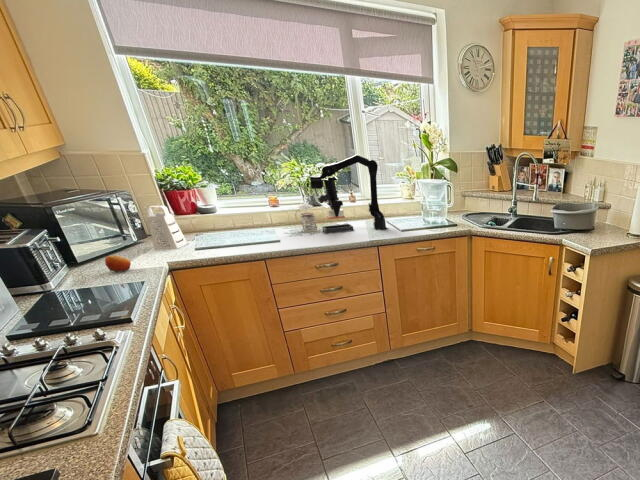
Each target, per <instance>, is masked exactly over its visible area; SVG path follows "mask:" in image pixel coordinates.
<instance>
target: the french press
mask: <svg viewBox="0 0 640 480" xmlns="http://www.w3.org/2000/svg"><path fill="white" fill-rule="evenodd" d="M299 189H300V190H301V192H302V194H304V191H303V190H304V186H299ZM302 197H303V198H305V195H302ZM303 200H304V203H303V204H300V205H299V206H298V207H297V208H298V209H297V210H296V211H295V212H294V218H295V219H296V220H298V217H297V214H298V212H299V213H300V215H301V216H300V219H301V221H300V220H298V222H299V223H300V224H301V225H302V230H301V232H304V233H314V232H318V231H320V228H318V225H317V220H316V216H315V214H314V212H308V211H307V210H308V209H313V208H314V205H312V204H309V203H306V201H305V199H303ZM300 209H301V210H305V212H301V210H300Z"/></svg>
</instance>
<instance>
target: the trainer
mask: <svg viewBox="0 0 640 480" xmlns="http://www.w3.org/2000/svg"><path fill="white" fill-rule="evenodd" d="M326 213H327V214H326V215H327V216H326V218H327V219H328V220H337V219H346V216H345V211H344V209H343V208H340V211H339V214H338V217H336V216H335V213H334V210H331V209H326Z"/></svg>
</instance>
